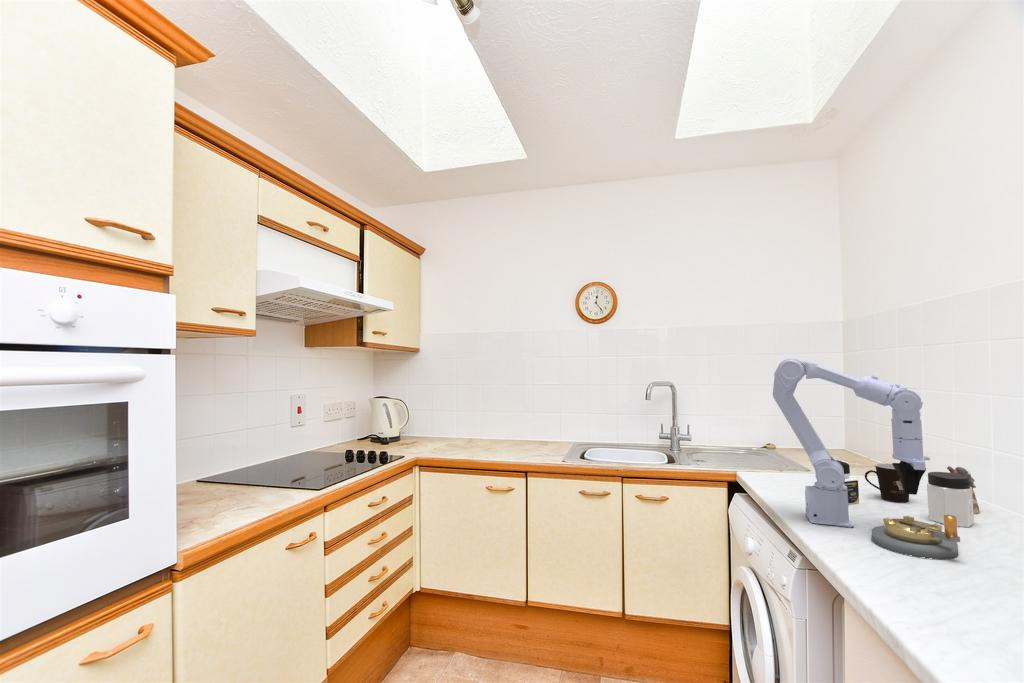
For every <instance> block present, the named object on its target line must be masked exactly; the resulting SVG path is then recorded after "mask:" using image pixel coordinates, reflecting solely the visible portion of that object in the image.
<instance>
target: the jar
mask: <svg viewBox="0 0 1024 683" xmlns="http://www.w3.org/2000/svg"><path fill="white" fill-rule="evenodd" d="M927 480H928V481H927V484H926V490H927V492H926V493H927V505H928V506H927V507H928V508H927V509H928V510H927V511H928V519H929V521H932V522H935V523H939V524H940V525H944V515H951V516H955V517H957V527H959V528H960V527H961V528H970V527H972V526H973V525H974V524H975V516H974V515H975V514H974V512H973V497H972V487H970V485H971V481H970V478H969V477H968V476H965V475H961V474H956V473H950V472H948V471H946V472H945V471H929V472H928V473H927Z"/></svg>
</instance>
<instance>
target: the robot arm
mask: <svg viewBox="0 0 1024 683" xmlns="http://www.w3.org/2000/svg"><path fill="white" fill-rule="evenodd" d="M773 376H774V377H773V378H774V379H773V388H772V396H773V397H772V398H773V399H774V401H775V403H776V404H777V406H778V408H779V409H780V411H781V412H782V414H783V416H784V418H785V419H786V421H787V422H788V425H789V426H790V427H791V429H792V431H793V433H794V434H795V436H796V438H797V439H798V441H799V442H800V444H801V446H802V448H803V449H804V451H805V452H806V454H807V456H808V458H809V461H810V462H811V465H812V467H813V468H814V471H815V479H816V481H815V482H814V485H806V486H805V488H804V494H805V495H804V496H805V515H806V517H807V519H808V520H809V522H810V523H811V524H815V525H816V524H818V525H827V526H838V527H847V528H854V527H855V525H854V524H853V522H852V521H851V520H850V518H849V517H850V515H849V512H850V511H849V504H848V493H847V486H845V485H844V482H845V476H844V469H843V467H842V465H841V464H840V463H839V462H837V461H836V460H837V459H835V458H833V456H832V455H831V452H829V450H828V449H827V448H826V446H825V444H824V443H823V441H822V440H821V437H820V436H819V434H817V432H816V430H815V429H814V426H813V425H812V424H811V422H810V420H809V418H808V416H806V414H805V412H804V410H803V409H802V407H801V405H800V404H799V402H798V401H797V399H796V397H795V396H794V393H795V390H796V388H797V385H798V383H800V381H801V380H802V379H803V378H804V376H805V380H808V379H821V380H824V381H827V382H830V383H832V384H836V385H839V386H842V387H844V388H845V387H846V388H848V389H851V390H853V393H854V394H855V395H856V397H858V398H861V399H863V400H867V401H869V402H872V403H875V404H878V405H881V406H884V407H888V406H890V407H891V436H892V438H891V439H892V459H893V460H897V461H899V462H892V463H891V464H892V465H893V466H894V468H895V470H896V471H897V473H898V476H899V478H900V481H901V484H902V488H903V491H904V493H906V494H909V495H913V496H914V495H916V496H917V494H918V491H919V487H920V483H921V479H922V478H923V475H924V474H925V472H926V471H927V468H926V462H925V461H930V460H931V458H930V457H929V456H927V455H926V456H925V455H924V445H923V444H924V443H923V442H924V441H923V428H922V427H923V426H922V420H921V409H922V407H923V405H924V402H923V401H922V398H921V397H920V396H919V394H917V393H916V392H915V391H912V390H909V389H908V388H903V387H901V385H900V384H898V383H895V384H892V383H890V382H887V381H886V382H885V381H883V380H880V379H879V377H878V376H875V375H871V376H868V375H864V376H862V377H855V376H852V375H850V374H846V373H844V372H841V371H838V370H835V369H833V368H830V367H827V366H825V365H822V364H819V363H815V362H809V361H804V360H802V361H801V360H800V359H797V358H787V359H784V360H782V361H781V362H780V363H779V364H778V366H777V367H776V369H775V371H774V375H773Z"/></svg>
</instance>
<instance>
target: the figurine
mask: <svg viewBox="0 0 1024 683" xmlns="http://www.w3.org/2000/svg"><path fill="white" fill-rule="evenodd" d="M946 469H947V470H948V471H949V473H956V474H961V475H965V476H968V477H969V478H970V481H971V485H970V487H972V497H973V512H974V515H977V514H976V513H978V514H981V511H980V507H979V506H980V505H979V503H978V500H977V498H976V497H977V496H976V494H975V490H974V489H976V488H977V487H976V486H977V485H975V483H974V482H975V479H974V478H973V477H972V475H971V473H970V472H969V471H968V470H967V469H966V468H964V467H962V466H957V467H955V469H954V468H953V467H951V466H950V465H949V466H946Z"/></svg>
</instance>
